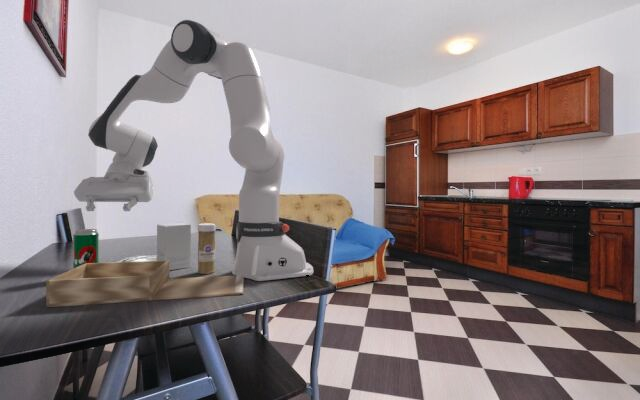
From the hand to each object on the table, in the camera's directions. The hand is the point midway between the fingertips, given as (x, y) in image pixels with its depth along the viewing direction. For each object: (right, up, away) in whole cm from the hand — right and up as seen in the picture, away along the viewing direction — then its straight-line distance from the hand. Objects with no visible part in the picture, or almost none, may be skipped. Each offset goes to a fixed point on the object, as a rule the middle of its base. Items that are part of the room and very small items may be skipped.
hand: (108, 209), depth 87 cm
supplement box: (+19, -17, 0) cm, 26 cm away
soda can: (+3, -17, -11) cm, 21 cm away
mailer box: (+26, -17, -20) cm, 37 cm away
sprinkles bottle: (+31, -17, -5) cm, 36 cm away
